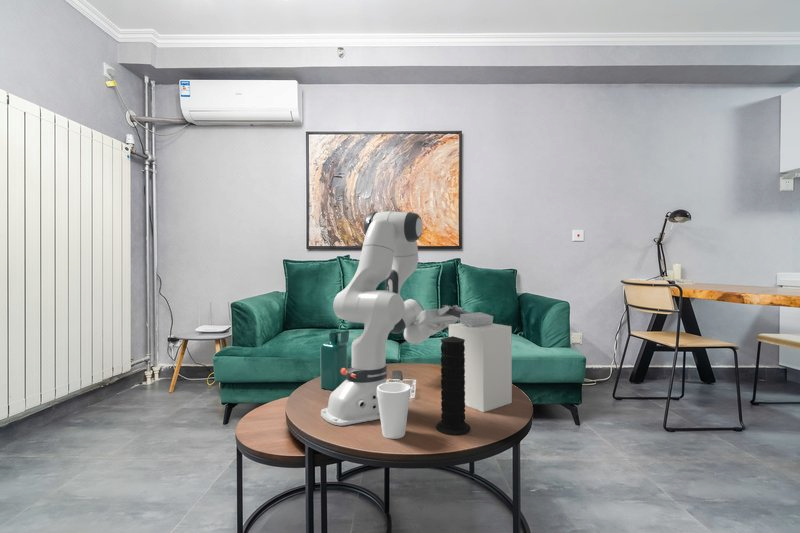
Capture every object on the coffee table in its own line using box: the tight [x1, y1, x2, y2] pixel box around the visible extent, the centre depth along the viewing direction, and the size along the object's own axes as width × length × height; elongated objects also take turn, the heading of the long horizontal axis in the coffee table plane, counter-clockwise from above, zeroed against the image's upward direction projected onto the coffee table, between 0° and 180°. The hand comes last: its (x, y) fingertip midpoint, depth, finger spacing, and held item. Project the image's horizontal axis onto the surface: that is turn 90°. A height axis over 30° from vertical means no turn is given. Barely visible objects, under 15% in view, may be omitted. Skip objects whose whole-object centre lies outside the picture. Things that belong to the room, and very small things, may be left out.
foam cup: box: [377, 381, 411, 440], centre depth 110 cm, size 10×9×13 cm
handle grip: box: [435, 336, 472, 436], centre depth 113 cm, size 10×26×10 cm
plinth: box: [448, 322, 513, 413], centre depth 136 cm, size 14×16×26 cm
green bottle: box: [319, 329, 350, 391], centre depth 152 cm, size 10×8×22 cm
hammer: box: [441, 304, 494, 327], centre depth 142 cm, size 10×20×3 cm, turn 36°
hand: (452, 307), depth 146 cm, fingers closed on hammer, 2 cm apart
